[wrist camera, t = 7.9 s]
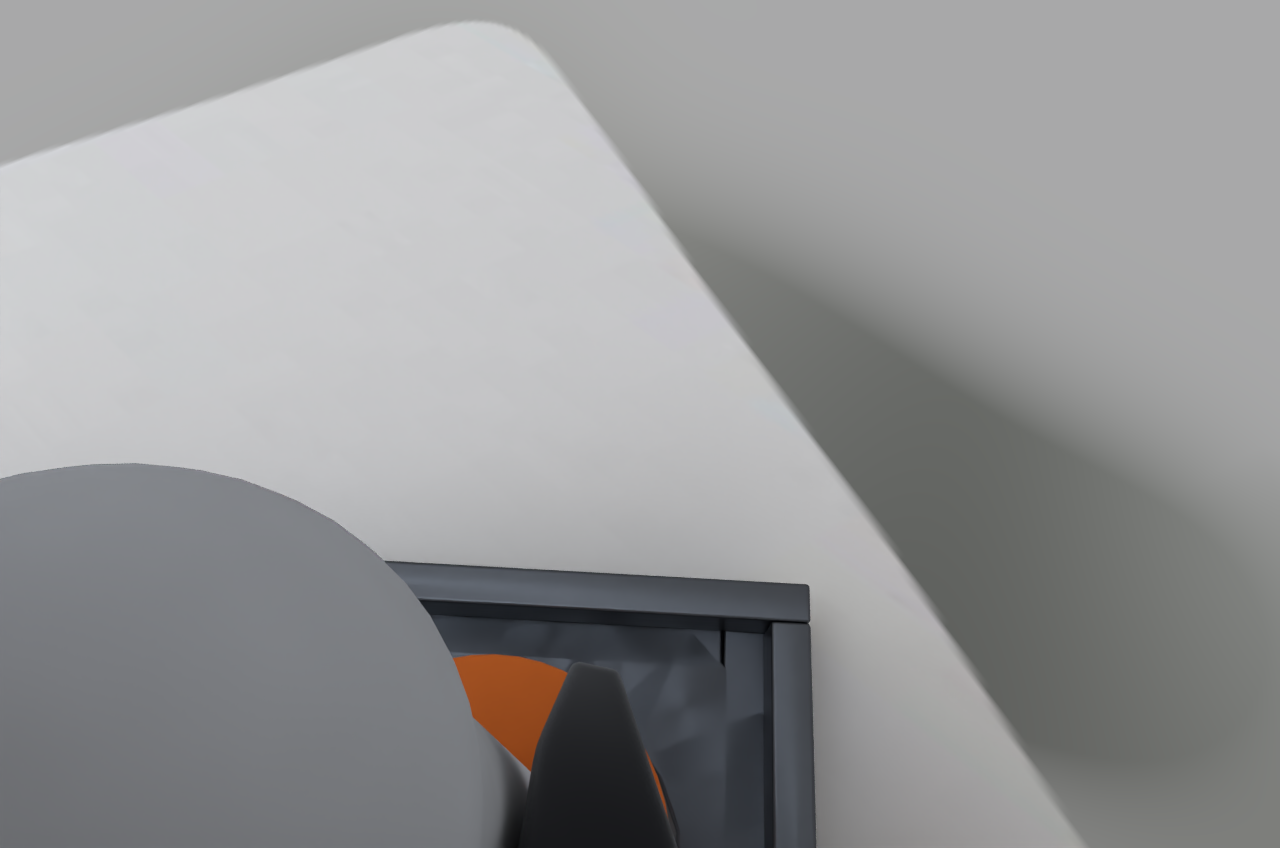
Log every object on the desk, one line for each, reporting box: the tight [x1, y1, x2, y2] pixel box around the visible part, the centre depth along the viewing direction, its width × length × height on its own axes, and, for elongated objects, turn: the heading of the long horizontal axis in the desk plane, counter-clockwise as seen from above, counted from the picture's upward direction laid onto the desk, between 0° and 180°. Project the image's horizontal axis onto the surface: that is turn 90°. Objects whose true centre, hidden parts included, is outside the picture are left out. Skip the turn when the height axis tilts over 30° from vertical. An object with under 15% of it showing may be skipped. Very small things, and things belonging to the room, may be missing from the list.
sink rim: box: [384, 561, 816, 848], centre depth 17 cm, size 22×11×1 cm, turn 87°
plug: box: [0, 463, 668, 848], centre depth 8 cm, size 5×5×12 cm
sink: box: [429, 614, 765, 848], centre depth 18 cm, size 22×11×2 cm, turn 87°
